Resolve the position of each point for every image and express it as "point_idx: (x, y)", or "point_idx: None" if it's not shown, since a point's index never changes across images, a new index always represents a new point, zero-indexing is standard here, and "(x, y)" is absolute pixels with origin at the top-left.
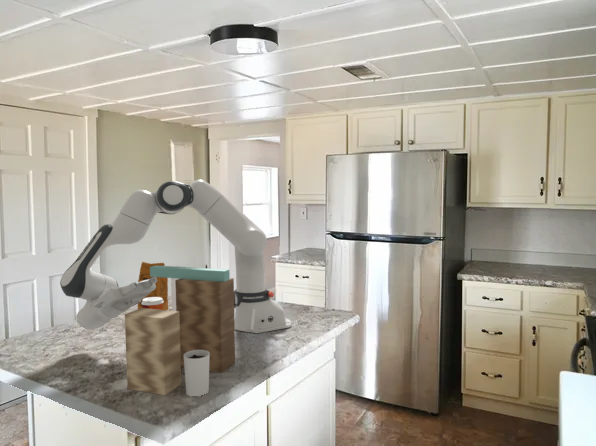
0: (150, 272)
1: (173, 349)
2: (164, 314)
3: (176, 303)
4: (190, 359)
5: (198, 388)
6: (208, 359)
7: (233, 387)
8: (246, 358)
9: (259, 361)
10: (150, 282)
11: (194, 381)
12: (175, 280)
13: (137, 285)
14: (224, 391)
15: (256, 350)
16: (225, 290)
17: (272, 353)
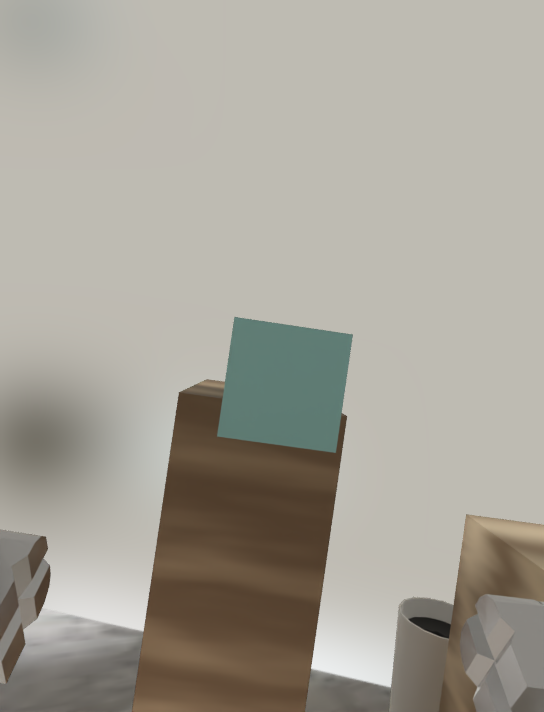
0: (340, 401)
1: None
2: (538, 532)
3: (325, 560)
4: None
5: None
6: (419, 611)
7: (338, 675)
8: (103, 696)
9: (130, 660)
10: (2, 660)
11: None
12: (346, 418)
13: (466, 624)
14: (372, 686)
15: (6, 686)
16: None
17: (48, 643)
